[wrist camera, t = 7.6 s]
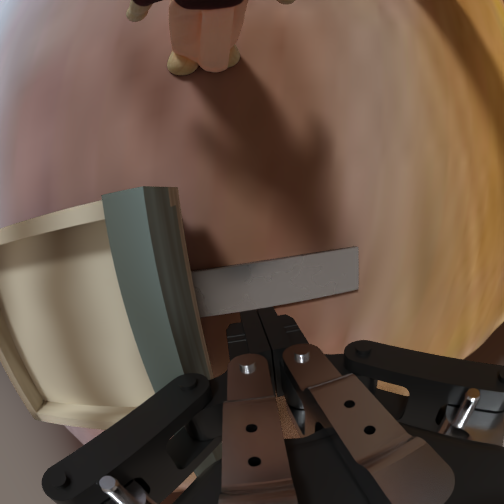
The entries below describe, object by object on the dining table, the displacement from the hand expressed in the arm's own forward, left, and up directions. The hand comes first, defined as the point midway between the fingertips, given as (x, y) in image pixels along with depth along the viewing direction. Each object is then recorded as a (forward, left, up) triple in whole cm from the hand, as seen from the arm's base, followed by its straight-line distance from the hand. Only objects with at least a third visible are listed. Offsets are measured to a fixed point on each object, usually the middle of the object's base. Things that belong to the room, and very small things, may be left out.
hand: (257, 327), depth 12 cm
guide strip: (+5, 0, -5) cm, 7 cm away
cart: (+10, 0, -5) cm, 11 cm away
